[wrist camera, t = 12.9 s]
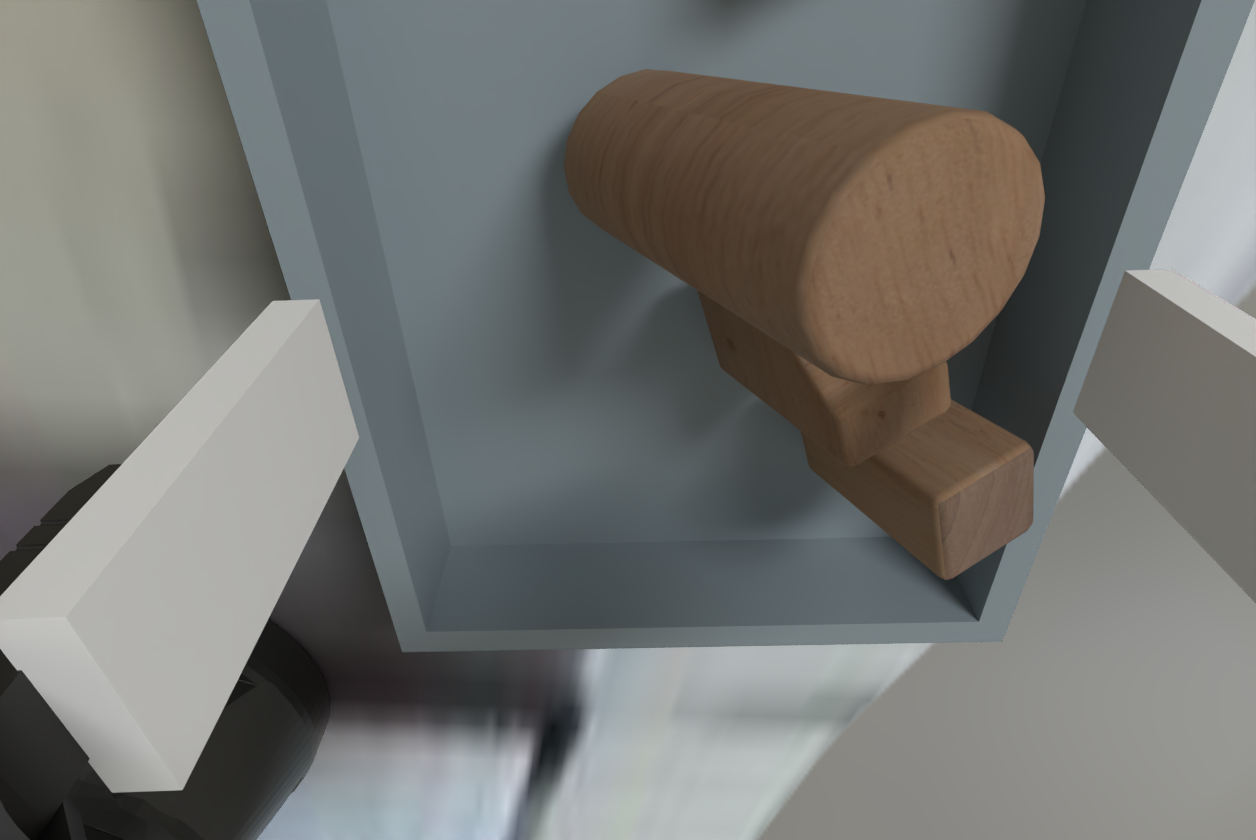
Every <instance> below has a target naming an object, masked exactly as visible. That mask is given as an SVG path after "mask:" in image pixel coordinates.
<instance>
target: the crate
mask: <svg viewBox="0 0 1256 840" xmlns="http://www.w3.org/2000/svg"><path fill="white" fill-rule="evenodd" d="M1254 1H1255V0H197V3H198V7H199V10H200V13H201V16H202V19H203V22H204V26H205V29H206V32H207V35H208V38H209V41H210V45H211V48H212V51H213V54H214V57H215V60H216V64H217V67H218V70H219V73H220V76H221V79H222V83H223V86H224V89H225V92H226V95H227V98H228V102H229V105H230V108H231V111H232V114H233V117H234V121H235V124H236V127H237V130H238V133H239V136H240V140H241V143H242V146H243V149H244V152H245V155H246V159H247V162H248V165H249V168H250V171H251V175H252V178H253V181H254V184H255V187H256V190H257V194H258V197H259V200H260V203H261V206H262V209H263V213H264V216H265V219H266V222H267V225H268V228H269V232H270V235H271V238H272V241H273V244H274V247H275V251H276V254H277V257H278V260H279V263H280V266H281V270H282V273H283V276H284V279H285V282H286V285H287V289H288V292H289V295H290V298H291V300H315V299H319V300H320V303H321V306H322V310H323V313H324V317H325V320H326V324H327V327H328V331H329V334H330V338H331V341H332V345H333V348H334V352H335V355H336V359H337V362H338V365H339V369H340V372H341V376H342V379H343V383H344V386H345V390H346V393H347V397H348V400H349V404H350V407H351V411H352V414H353V418H354V421H355V424H356V428H357V431H358V435H359V439H358V441H357V443H356V445H355V447H354V449H353V451H352V453H351V455H350V457H349V459H348V461H347V463H346V465H345V467H344V469H345V472H346V476H347V479H348V482H349V485H350V488H351V491H352V495H353V498H354V501H355V504H356V507H357V510H358V514H359V517H360V520H361V523H362V526H363V529H364V533H365V536H366V539H367V542H368V545H369V548H370V552H371V555H372V558H373V561H374V564H375V567H376V571H377V574H378V577H379V580H380V583H381V586H382V590H383V593H384V596H385V599H386V602H387V605H388V609H389V612H390V615H391V618H392V621H393V625H394V628H395V631H396V634H397V637H398V640H399V644H400V647H401V650H402V652H440V651H496V650H552V649H609V648H665V647H721V646H778V645H834V644H890V643H945V642H1000V641H1001V642H1002V641H1003V638H1004V636H1005V633H1006V630H1007V628H1008V625H1009V623H1010V620H1011V618H1012V615H1013V613H1014V610H1015V607H1016V605H1017V602H1018V600H1019V597H1020V595H1021V592H1022V590H1023V587H1024V585H1025V582H1026V579H1027V577H1028V574H1029V572H1030V569H1031V567H1032V564H1033V562H1034V559H1035V557H1036V554H1037V552H1038V549H1039V546H1040V544H1041V541H1042V539H1043V536H1044V534H1045V531H1046V529H1047V526H1048V524H1049V521H1050V519H1051V516H1052V514H1053V511H1054V509H1055V506H1056V503H1057V501H1058V498H1059V496H1060V493H1061V491H1062V488H1063V486H1064V483H1065V481H1066V478H1067V476H1068V473H1069V470H1070V468H1071V465H1072V463H1073V460H1074V458H1075V455H1076V453H1077V450H1078V448H1079V445H1080V443H1081V440H1082V437H1083V435H1084V432H1085V430H1086V426H1085V425H1084V424H1083V423H1082V422H1081V421H1080V420H1079V418H1078V417H1077V416H1076V415H1075V414H1074V413H1073V410H1074V407H1075V405H1076V402H1077V399H1078V397H1079V394H1080V391H1081V388H1082V386H1083V383H1084V380H1085V378H1086V375H1087V372H1088V369H1089V367H1090V364H1091V361H1092V359H1093V356H1094V353H1095V351H1096V348H1097V345H1098V342H1099V340H1100V337H1101V334H1102V332H1103V329H1104V326H1105V323H1106V321H1107V318H1108V315H1109V313H1110V310H1111V307H1112V305H1113V302H1114V299H1115V296H1116V294H1117V291H1118V288H1119V286H1120V283H1121V280H1122V277H1123V275H1124V272H1125V271H1129V270H1149V267H1150V265H1151V262H1152V260H1153V257H1154V255H1155V252H1156V250H1157V247H1158V244H1159V242H1160V239H1161V237H1162V234H1163V232H1164V229H1165V227H1166V224H1167V222H1168V219H1169V217H1170V214H1171V211H1172V209H1173V206H1174V204H1175V201H1176V199H1177V196H1178V194H1179V191H1180V189H1181V186H1182V184H1183V181H1184V178H1185V176H1186V173H1187V171H1188V168H1189V166H1190V163H1191V161H1192V158H1193V156H1194V153H1195V151H1196V148H1197V145H1198V143H1199V140H1200V138H1201V135H1202V133H1203V130H1204V128H1205V125H1206V123H1207V120H1208V118H1209V115H1210V112H1211V110H1212V107H1213V105H1214V102H1215V100H1216V97H1217V95H1218V92H1219V90H1220V87H1221V85H1222V82H1223V79H1224V77H1225V74H1226V72H1227V69H1228V67H1229V64H1230V62H1231V59H1232V57H1233V54H1234V52H1235V49H1236V46H1237V44H1238V41H1239V39H1240V36H1241V34H1242V31H1243V29H1244V26H1245V24H1246V21H1247V18H1248V16H1249V13H1250V11H1251V8H1252V6H1253V3H1254ZM645 69H651V70H665V71H675V72H683V73H691V74H699V75H706V76H714V77H722V78H730V79H738V80H746V81H753V82H761V83H769V84H777V85H785V86H793V87H800V88H808V89H816V90H824V91H832V92H839V93H847V94H855V95H863V96H871V97H879V98H886V99H894V100H902V101H910V102H918V103H925V104H933V105H941V106H949V107H957V108H965V109H972V110H980V111H987V112H988V113H990V114H992V115H994V116H995V117H997V118H999V119H1000V120H1002V121H1004V122H1005V123H1007V124H1009V125H1010V126H1012V127H1014V128H1015V129H1016V130H1017V131H1019V132H1020V133H1021V134H1022V135H1023V136H1024V138H1025V139H1026V141H1027V142H1028V144H1029V146H1030V147H1031V149H1032V151H1033V152H1034V154H1035V156H1036V157H1037V159H1038V161H1039V162H1040V166H1041V173H1042V180H1043V187H1044V193H1045V202H1044V209H1043V216H1042V223H1041V229H1040V236H1039V239H1038V241H1037V244H1036V246H1035V249H1034V251H1033V254H1032V256H1031V259H1030V262H1029V264H1028V267H1027V269H1026V272H1025V274H1024V276H1023V278H1022V279H1021V281H1020V282H1019V284H1018V285H1017V287H1016V289H1015V290H1014V292H1013V293H1012V295H1011V296H1010V298H1009V300H1008V301H1007V303H1006V304H1005V306H1004V307H1003V309H1002V311H1001V312H1000V313H999V314H998V315H997V316H996V317H995V318H994V319H993V320H992V321H991V323H990V324H989V325H988V326H987V327H986V328H985V329H984V330H983V331H982V332H981V333H980V334H979V335H978V337H977V338H976V339H975V340H974V341H973V342H972V343H970V344H969V345H968V346H966V347H965V348H963V349H962V350H961V351H959V352H958V353H957V354H955V355H954V356H952V357H951V358H950V359H948V360H947V361H946V362H947V365H948V375H949V387H950V398H951V400H953V401H955V402H957V403H959V404H960V405H962V406H964V407H966V408H967V409H969V410H971V411H973V412H975V413H976V414H978V415H980V416H982V417H983V418H985V419H987V420H989V421H991V422H992V423H994V424H996V425H998V426H999V427H1001V428H1003V429H1005V430H1007V431H1008V432H1010V433H1012V434H1014V435H1016V436H1017V437H1019V438H1021V439H1023V440H1024V441H1026V442H1027V443H1028V444H1029V445H1030V446H1031V448H1032V450H1033V452H1034V500H1033V523H1032V525H1031V526H1030V528H1029V529H1028V530H1027V531H1026V532H1025V533H1023V534H1022V535H1020V536H1018V537H1017V538H1015V539H1014V540H1012V541H1011V542H1009V543H1007V544H1006V545H1004V546H1003V547H1001V548H1000V549H998V550H997V551H995V552H993V553H992V554H990V555H989V556H987V557H986V558H984V559H982V560H981V561H979V562H978V563H976V564H975V565H973V566H971V567H970V568H968V569H967V570H965V571H964V572H962V573H960V574H959V575H957V576H956V577H954V578H953V579H948V580H945V579H942V578H940V577H938V576H937V575H936V574H935V573H934V572H933V571H931V570H930V569H929V568H928V567H927V566H925V565H924V564H923V563H922V562H921V561H919V560H918V559H917V558H916V557H915V556H914V555H912V554H911V553H910V552H909V551H908V550H906V549H905V548H904V547H903V546H902V545H900V544H899V543H898V542H897V541H896V540H894V539H893V538H892V537H891V536H890V535H889V534H887V533H886V532H885V531H884V530H883V529H881V528H880V527H879V526H878V525H877V524H875V523H874V522H873V521H872V520H871V519H869V518H868V517H867V516H866V515H865V514H864V513H862V512H861V511H860V510H859V509H858V508H856V507H855V506H854V505H853V504H852V503H850V502H849V501H848V500H847V499H846V498H845V497H843V496H842V495H841V494H840V493H839V492H837V491H836V490H835V489H834V488H833V487H831V486H830V485H829V484H828V483H827V482H825V481H824V480H823V479H822V478H821V477H820V476H818V475H817V474H816V473H815V472H814V471H813V470H812V469H811V468H810V467H809V464H808V460H807V456H806V452H805V448H804V443H803V439H802V435H801V431H800V430H799V429H798V428H796V427H795V426H794V425H793V424H791V423H790V422H789V421H788V420H786V419H785V418H784V417H782V416H781V415H780V414H779V413H777V412H776V411H775V410H773V409H772V408H771V407H770V406H768V405H767V404H766V403H765V402H763V401H762V400H761V399H759V398H758V397H757V396H756V395H754V394H753V393H752V392H751V391H749V390H748V389H747V388H745V387H744V386H743V385H742V384H740V383H739V382H738V381H736V380H735V379H734V378H733V377H731V376H730V375H729V374H728V373H726V372H725V371H724V370H723V369H722V368H721V367H720V364H719V361H718V357H717V354H716V351H715V347H714V344H713V341H712V337H711V334H710V331H709V327H708V324H707V321H706V317H705V314H704V311H703V307H702V304H701V301H700V297H699V294H698V290H696V289H694V288H693V287H691V286H690V285H688V284H687V283H685V282H684V281H682V280H680V279H679V278H677V277H676V276H674V275H673V274H671V273H670V272H668V271H666V270H665V269H663V268H662V267H660V266H659V265H657V264H656V263H654V262H652V261H651V260H649V259H648V258H646V257H645V256H643V255H641V254H640V253H638V252H637V251H635V250H634V249H632V248H631V247H629V246H627V245H626V244H624V243H623V242H621V241H620V240H618V239H617V238H615V237H613V236H612V235H610V234H609V233H607V232H606V231H604V230H603V229H601V228H599V227H598V226H597V225H596V224H594V223H593V222H592V221H591V220H589V219H588V218H587V217H586V216H584V215H583V214H582V213H581V212H580V210H579V209H578V207H577V205H576V204H575V202H574V200H573V199H572V197H571V195H570V194H569V191H568V186H567V181H566V176H565V171H564V161H565V152H566V144H567V139H568V137H569V134H570V132H571V130H572V127H573V125H574V123H575V120H576V118H577V116H578V114H579V113H580V111H581V110H582V109H583V108H584V107H585V105H586V104H587V103H588V102H589V101H590V99H591V98H592V97H593V96H594V95H595V93H596V92H597V91H599V90H600V89H602V88H603V87H605V86H606V85H608V84H609V83H611V82H612V81H614V80H615V79H617V78H618V77H620V76H623V75H627V74H630V73H634V72H638V71H641V70H645Z"/></svg>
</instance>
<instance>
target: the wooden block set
mask: <svg viewBox="0 0 1256 840" xmlns="http://www.w3.org/2000/svg"><path fill="white" fill-rule="evenodd" d="M564 171H565V176H566V181H567V186H568V191H569V194H570V195H571V197H572V199H573V200H574V202H575V204H576V205H577V207H578V209H579V210H580V212H581V213H582V214H583V215H584V216H586V217H587V218H588V219H589V220H591V221H592V222H593V223H594V224H596V225H597V226H598V227H599V228H601V229H603V230H604V231H606V232H607V233H609V234H610V235H612V236H613V237H615V238H617V239H618V240H620V241H621V242H623V243H624V244H626V245H627V246H629V247H631V248H632V249H634V250H635V251H637V252H638V253H640V254H641V255H643V256H645V257H646V258H648V259H649V260H651V261H652V262H654V263H656V264H657V265H659V266H660V267H662V268H663V269H665V270H666V271H668V272H670V273H671V274H673V275H674V276H676V277H677V278H679V279H680V280H682V281H684V282H685V283H687V284H688V285H690V286H691V287H693V288H694V289H696V290H698V294H699V297H700V301H701V304H702V307H703V311H704V314H705V317H706V321H707V324H708V327H709V331H710V334H711V337H712V341H713V344H714V347H715V351H716V354H717V357H718V361H719V364H720V367H721V368H722V369H723V370H724V371H725V372H726V373H728V374H729V375H730V376H731V377H733V378H734V379H735V380H736V381H738V382H739V383H740V384H742V385H743V386H744V387H745V388H747V389H748V390H749V391H751V392H752V393H753V394H754V395H756V396H757V397H758V398H759V399H761V400H762V401H763V402H765V403H766V404H767V405H768V406H770V407H771V408H772V409H773V410H775V411H776V412H777V413H779V414H780V415H781V416H782V417H784V418H785V419H786V420H788V421H789V422H790V423H791V424H793V425H794V426H795V427H796V428H798V429H799V430H800V431H801V435H802V439H803V443H804V448H805V452H806V456H807V460H808V464H809V467H810V468H811V469H812V470H813V471H814V472H815V473H816V474H817V475H818V476H820V477H821V478H822V479H823V480H824V481H825V482H827V483H828V484H829V485H830V486H831V487H833V488H834V489H835V490H836V491H837V492H839V493H840V494H841V495H842V496H843V497H845V498H846V499H847V500H848V501H849V502H850V503H852V504H853V505H854V506H855V507H856V508H858V509H859V510H860V511H861V512H862V513H864V514H865V515H866V516H867V517H868V518H869V519H871V520H872V521H873V522H874V523H875V524H877V525H878V526H879V527H880V528H881V529H883V530H884V531H885V532H886V533H887V534H889V535H890V536H891V537H892V538H893V539H894V540H896V541H897V542H898V543H899V544H900V545H902V546H903V547H904V548H905V549H906V550H908V551H909V552H910V553H911V554H912V555H914V556H915V557H916V558H917V559H918V560H919V561H921V562H922V563H923V564H924V565H925V566H927V567H928V568H929V569H930V570H931V571H933V572H934V573H935V574H936V575H937V576H938V577H940V578H942V579H945V580H948V579H953V578H954V577H956V576H957V575H959V574H960V573H962V572H964V571H965V570H967V569H968V568H970V567H971V566H973V565H975V564H976V563H978V562H979V561H981V560H982V559H984V558H986V557H987V556H989V555H990V554H992V553H993V552H995V551H997V550H998V549H1000V548H1001V547H1003V546H1004V545H1006V544H1007V543H1009V542H1011V541H1012V540H1014V539H1015V538H1017V537H1018V536H1020V535H1022V534H1023V533H1025V532H1026V531H1027V530H1028V529H1029V528H1030V526H1031V525H1032V523H1033V500H1034V452H1033V450H1032V448H1031V446H1030V445H1029V444H1028V443H1027V442H1026V441H1024V440H1023V439H1021V438H1019V437H1017V436H1016V435H1014V434H1012V433H1010V432H1008V431H1007V430H1005V429H1003V428H1001V427H999V426H998V425H996V424H994V423H992V422H991V421H989V420H987V419H985V418H983V417H982V416H980V415H978V414H976V413H975V412H973V411H971V410H969V409H967V408H966V407H964V406H962V405H960V404H959V403H957V402H955V401H953V400H951V398H950V387H949V375H948V365H947V362H946V361H947V360H948V359H950V358H951V357H952V356H954V355H955V354H957V353H958V352H959V351H961V350H962V349H963V348H965V347H966V346H968V345H969V344H970V343H972V342H973V341H974V340H975V339H976V338H977V337H978V335H979V334H980V333H981V332H982V331H983V330H984V329H985V328H986V327H987V326H988V325H989V324H990V323H991V321H992V320H993V319H994V318H995V317H996V316H997V315H998V314H999V313H1000V312H1001V311H1002V309H1003V307H1004V306H1005V304H1006V303H1007V301H1008V300H1009V298H1010V296H1011V295H1012V293H1013V292H1014V290H1015V289H1016V287H1017V285H1018V284H1019V282H1020V281H1021V279H1022V278H1023V276H1024V274H1025V272H1026V269H1027V267H1028V264H1029V262H1030V259H1031V256H1032V254H1033V251H1034V249H1035V246H1036V244H1037V241H1038V239H1039V236H1040V229H1041V223H1042V216H1043V209H1044V202H1045V193H1044V187H1043V180H1042V173H1041V166H1040V162H1039V161H1038V159H1037V157H1036V156H1035V154H1034V152H1033V151H1032V149H1031V147H1030V146H1029V144H1028V142H1027V141H1026V139H1025V138H1024V136H1023V135H1022V134H1021V133H1020V132H1019V131H1017V130H1016V129H1015V128H1014V127H1012V126H1010V125H1009V124H1007V123H1005V122H1004V121H1002V120H1000V119H999V118H997V117H995V116H994V115H992V114H990V113H988V112H987V111H980V110H972V109H965V108H957V107H949V106H941V105H933V104H925V103H918V102H910V101H902V100H894V99H886V98H879V97H871V96H863V95H855V94H847V93H839V92H832V91H824V90H816V89H808V88H800V87H793V86H785V85H777V84H769V83H761V82H753V81H746V80H738V79H730V78H722V77H714V76H706V75H699V74H691V73H683V72H675V71H665V70H651V69H645V70H641V71H638V72H634V73H630V74H627V75H623V76H620V77H618V78H617V79H615V80H614V81H612V82H611V83H609V84H608V85H606V86H605V87H603V88H602V89H600V90H599V91H597V92H596V93H595V95H594V96H593V97H592V98H591V99H590V101H589V102H588V103H587V104H586V105H585V107H584V108H583V109H582V110H581V111H580V113H579V114H578V116H577V118H576V120H575V123H574V125H573V127H572V130H571V132H570V134H569V137H568V139H567V144H566V152H565V161H564Z"/></svg>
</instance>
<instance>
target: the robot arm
mask: <svg viewBox="0 0 1256 840" xmlns="http://www.w3.org/2000/svg"><path fill="white" fill-rule="evenodd" d="M1073 413H1074V414H1075V415H1076V416H1077V417H1078V418H1079V420H1080V421H1081V422H1082V423H1083V424H1084V425H1085V426H1086V427H1087V428H1088V429H1089V430H1090V431H1091V432H1092V433H1093V434H1094V435H1095V436H1096V437H1097V438H1098V439H1099V440H1100V441H1101V442H1102V443H1103V445H1104V446H1105V447H1106V448H1107V449H1108V450H1109V451H1110V452H1111V453H1112V454H1113V455H1114V456H1115V457H1116V458H1117V459H1118V460H1119V461H1120V462H1121V463H1122V464H1123V465H1124V466H1125V467H1126V468H1127V470H1128V471H1129V472H1130V473H1131V474H1132V475H1133V476H1134V477H1135V478H1136V479H1137V480H1138V481H1139V482H1140V483H1141V484H1142V485H1143V486H1144V487H1145V488H1146V489H1147V490H1148V491H1149V492H1150V494H1152V496H1153V497H1154V498H1155V499H1156V500H1157V501H1158V502H1159V503H1160V504H1161V505H1162V506H1163V507H1164V508H1165V509H1166V510H1167V511H1168V512H1169V513H1170V514H1171V515H1172V516H1173V517H1174V519H1176V521H1177V522H1178V523H1179V524H1180V525H1181V526H1182V527H1183V528H1184V529H1185V530H1186V531H1187V532H1188V533H1189V534H1190V535H1191V536H1192V537H1193V538H1194V539H1195V540H1196V541H1197V542H1198V543H1199V545H1200V546H1201V547H1202V548H1203V549H1204V550H1205V551H1206V552H1207V553H1208V554H1209V555H1210V556H1211V557H1212V558H1213V559H1214V560H1215V561H1216V562H1217V563H1218V564H1219V565H1220V566H1221V567H1222V568H1223V570H1224V571H1225V572H1226V573H1227V574H1228V575H1229V576H1230V577H1231V578H1232V579H1233V580H1234V581H1235V582H1236V583H1237V584H1238V585H1239V586H1240V587H1241V588H1242V589H1243V590H1244V591H1245V592H1246V594H1248V596H1249V597H1251V599H1252V600H1253V601H1254V602H1255V603H1256V319H1255V318H1253V317H1251V316H1250V315H1248V314H1246V313H1244V312H1243V311H1241V310H1240V309H1238V308H1236V307H1235V306H1233V305H1231V304H1230V303H1228V302H1226V301H1225V300H1223V299H1221V298H1220V297H1218V296H1216V295H1215V294H1213V293H1211V292H1210V291H1208V290H1206V289H1205V288H1203V287H1201V286H1200V285H1198V284H1196V283H1195V282H1193V281H1191V280H1190V279H1188V278H1186V277H1185V276H1183V275H1181V274H1180V273H1178V272H1176V271H1175V270H1173V269H1158V270H1129V271H1125V272H1124V275H1123V277H1122V280H1121V283H1120V286H1119V288H1118V291H1117V294H1116V296H1115V299H1114V302H1113V305H1112V307H1111V310H1110V313H1109V315H1108V318H1107V321H1106V323H1105V326H1104V329H1103V332H1102V334H1101V337H1100V340H1099V342H1098V345H1097V348H1096V351H1095V353H1094V356H1093V359H1092V361H1091V364H1090V367H1089V369H1088V372H1087V375H1086V378H1085V380H1084V383H1083V386H1082V388H1081V391H1080V394H1079V397H1078V399H1077V402H1076V405H1075V407H1074V410H1073ZM358 439H359V435H358V431H357V428H356V424H355V421H354V418H353V414H352V411H351V407H350V404H349V400H348V397H347V393H346V390H345V386H344V383H343V379H342V376H341V372H340V369H339V365H338V362H337V359H336V355H335V352H334V348H333V345H332V341H331V338H330V334H329V331H328V327H327V324H326V320H325V317H324V313H323V310H322V306H321V303H320V300H319V299H315V300H287V301H272V302H271V303H270V304H269V305H268V306H267V308H266V309H265V310H264V311H263V312H262V313H261V314H260V315H259V316H258V317H257V318H256V319H255V321H254V322H253V323H252V324H251V325H250V326H249V327H248V328H247V329H246V330H245V331H244V332H243V334H242V335H241V336H240V337H239V338H238V339H237V340H236V341H235V342H234V343H233V344H232V346H231V347H230V348H229V349H228V350H227V351H226V352H225V353H224V354H223V355H222V356H221V357H220V359H219V360H218V361H217V362H216V363H215V364H214V365H213V366H212V367H211V368H210V369H209V370H208V372H207V373H206V374H205V375H204V376H203V377H202V378H201V379H200V380H199V381H198V382H197V383H196V385H195V386H194V387H193V388H192V389H191V390H190V391H189V392H188V393H187V394H186V395H185V396H184V398H183V399H182V400H181V401H180V402H179V403H178V404H177V405H176V406H175V407H174V408H173V409H172V411H171V412H170V413H169V414H168V415H167V416H166V417H165V418H164V419H163V420H162V421H161V423H160V424H159V425H158V426H157V427H156V428H155V429H154V430H153V431H152V432H151V433H150V434H149V436H148V437H147V438H146V439H145V440H144V441H143V442H142V443H141V444H140V445H139V446H138V447H137V449H136V450H135V451H134V452H133V453H132V454H131V455H130V456H129V457H128V458H127V459H126V460H125V462H124V463H123V464H117V465H108V466H107V467H105V468H104V469H102V470H100V471H99V472H97V473H96V474H94V475H93V476H91V477H90V478H88V479H86V480H85V481H83V482H82V483H80V484H79V485H77V486H75V487H74V488H72V489H71V490H69V491H68V492H67V493H66V494H65V495H64V496H63V497H62V498H61V499H60V500H59V501H58V502H57V503H56V505H55V506H54V507H53V508H52V509H51V510H50V511H49V512H48V513H47V514H46V515H45V516H44V517H43V518H42V519H41V520H40V521H41V525H40V526H34V527H33V528H32V529H31V530H30V531H29V532H28V533H27V534H26V535H25V536H24V537H23V538H22V539H21V540H20V541H19V543H18V544H17V545H16V546H17V550H16V551H10V552H9V553H8V554H7V555H6V556H5V557H4V558H3V559H2V560H1V561H0V840H256V839H257V838H258V837H259V835H260V834H261V833H262V832H263V830H264V829H265V828H266V826H267V825H268V824H269V822H270V821H271V820H272V818H273V817H274V816H275V814H276V813H277V812H278V810H279V809H280V808H281V806H282V805H283V804H284V802H285V801H286V799H287V798H288V797H289V795H290V794H291V793H292V792H293V791H294V790H295V789H296V788H297V786H298V785H299V784H300V782H301V781H302V780H303V779H304V777H305V775H306V774H307V772H308V770H309V768H310V767H311V764H312V762H313V760H314V757H315V755H316V752H317V749H318V747H319V744H320V742H321V739H322V736H323V734H324V731H325V729H326V726H327V723H328V719H329V714H330V700H329V694H328V690H327V687H326V684H325V682H324V679H323V677H322V675H321V673H320V672H319V670H318V668H317V667H316V665H315V664H314V662H313V661H312V660H311V658H310V657H309V656H308V655H307V653H306V652H305V651H304V650H303V649H302V648H301V647H300V646H299V645H298V644H297V643H296V642H295V641H294V640H293V639H292V638H291V637H290V636H289V635H288V634H286V633H285V632H284V631H283V630H281V629H280V628H279V627H278V626H276V625H275V624H273V623H272V622H271V621H269V620H268V619H269V617H270V615H271V613H272V611H273V609H274V607H275V605H276V603H277V601H278V599H279V597H280V595H281V593H282V591H283V589H284V587H285V585H286V583H287V581H288V579H289V577H290V575H291V573H292V571H293V569H294V567H295V565H296V563H297V561H298V559H299V557H300V555H301V553H302V551H303V549H304V547H305V545H306V543H307V541H308V539H309V537H310V535H311V533H312V531H313V529H314V527H315V525H316V523H317V521H318V519H319V517H320V515H321V513H322V511H323V509H324V507H325V505H326V503H327V501H328V499H329V497H330V495H331V493H332V491H333V489H334V487H335V485H336V483H337V481H338V479H339V477H340V475H341V473H342V471H343V469H344V467H345V465H346V463H347V461H348V459H349V457H350V455H351V453H352V451H353V449H354V447H355V445H356V443H357V441H358Z"/></svg>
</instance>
